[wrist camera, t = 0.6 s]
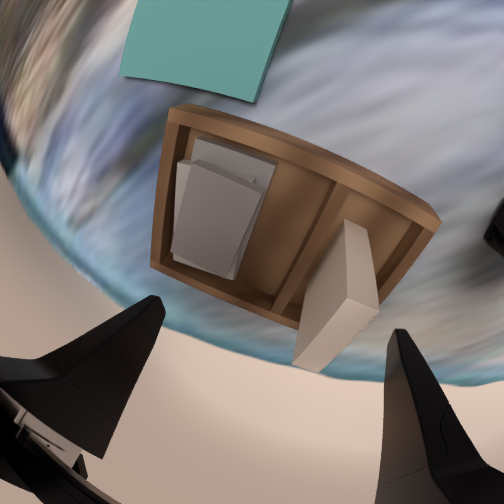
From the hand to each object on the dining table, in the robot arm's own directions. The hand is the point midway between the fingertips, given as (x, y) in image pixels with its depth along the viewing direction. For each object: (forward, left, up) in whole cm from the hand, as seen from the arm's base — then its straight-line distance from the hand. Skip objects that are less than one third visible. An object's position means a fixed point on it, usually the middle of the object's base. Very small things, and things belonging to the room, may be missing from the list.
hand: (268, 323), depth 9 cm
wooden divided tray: (+1, +4, -13) cm, 14 cm away
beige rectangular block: (-4, +4, -12) cm, 14 cm away
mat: (+12, -10, -13) cm, 20 cm away
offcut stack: (+6, +4, -12) cm, 14 cm away
